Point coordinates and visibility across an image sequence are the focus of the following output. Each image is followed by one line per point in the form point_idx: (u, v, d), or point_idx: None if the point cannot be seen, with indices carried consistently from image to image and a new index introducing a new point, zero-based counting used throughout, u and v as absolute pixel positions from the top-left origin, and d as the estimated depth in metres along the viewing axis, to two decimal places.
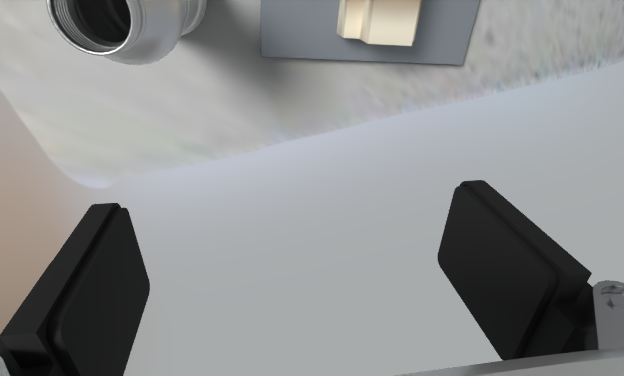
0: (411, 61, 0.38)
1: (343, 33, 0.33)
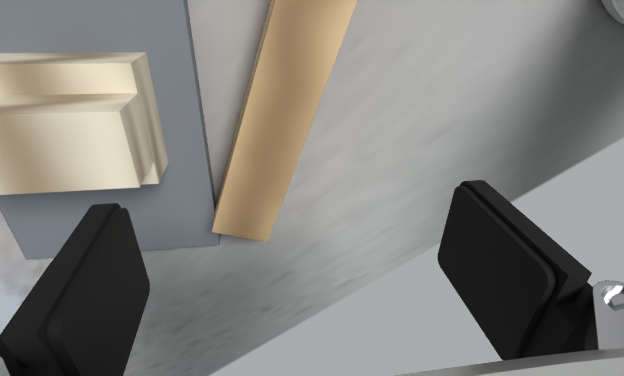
0: None
1: None
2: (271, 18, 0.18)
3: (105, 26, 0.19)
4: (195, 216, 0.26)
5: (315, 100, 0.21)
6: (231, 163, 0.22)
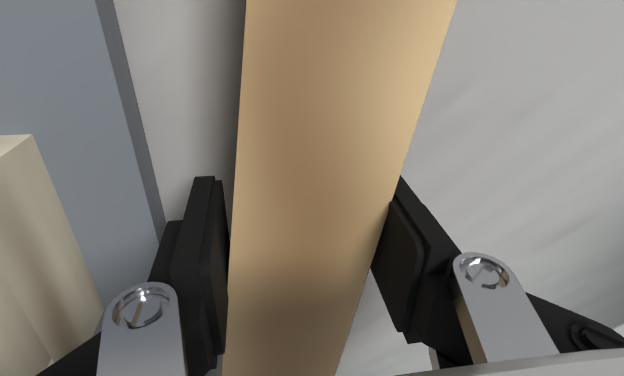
0: None
1: None
2: (243, 93, 0.07)
3: None
4: None
5: (372, 231, 0.10)
6: (224, 358, 0.11)
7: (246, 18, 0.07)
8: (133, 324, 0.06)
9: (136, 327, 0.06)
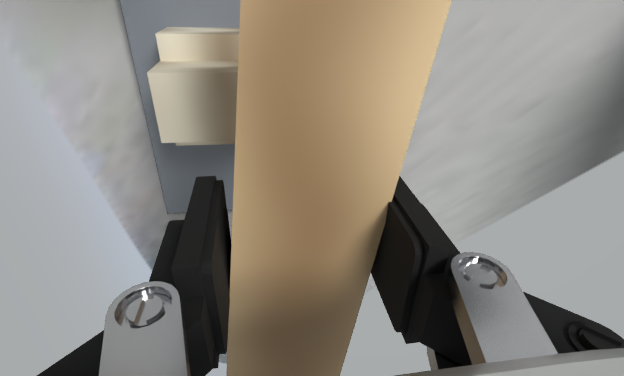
0: (154, 148, 0.27)
1: (162, 33, 0.21)
2: (239, 99, 0.07)
3: None
4: None
5: (372, 233, 0.10)
6: (229, 361, 0.11)
7: (240, 24, 0.07)
8: (135, 323, 0.06)
9: (138, 326, 0.06)
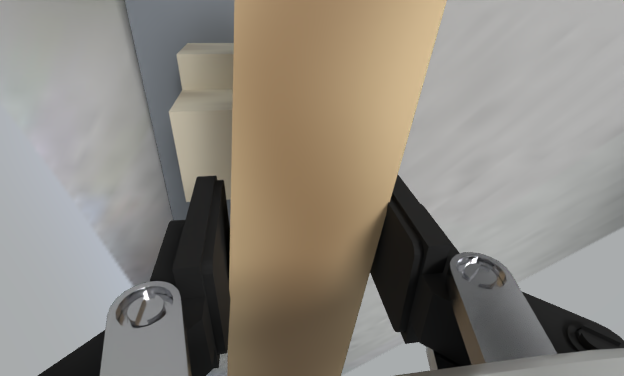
0: (169, 192, 0.21)
1: (185, 53, 0.15)
2: (235, 102, 0.07)
3: None
4: None
5: (371, 234, 0.10)
6: (229, 362, 0.12)
7: (235, 27, 0.07)
8: (136, 323, 0.06)
9: (139, 326, 0.06)
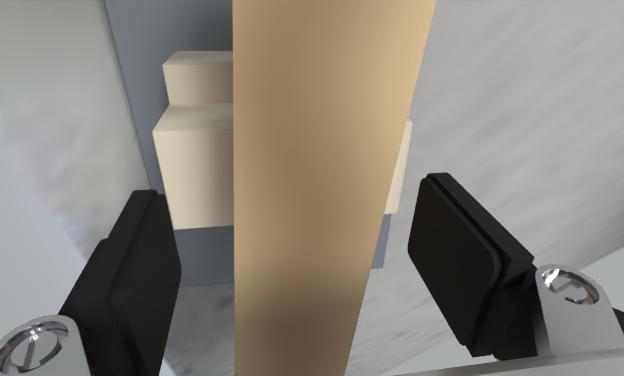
0: None
1: (173, 64, 0.14)
2: (236, 98, 0.07)
3: None
4: None
5: (371, 225, 0.10)
6: (236, 355, 0.12)
7: (233, 26, 0.07)
8: (26, 367, 0.05)
9: (31, 370, 0.06)
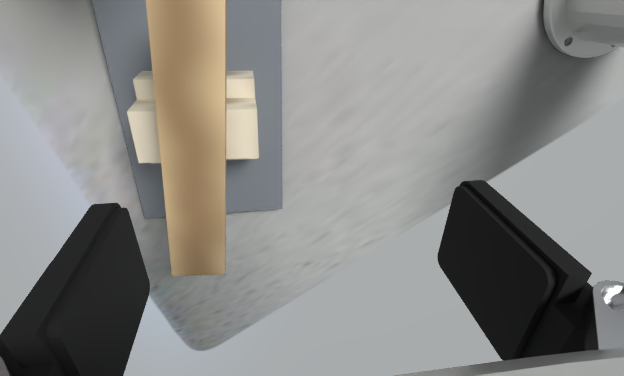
0: (133, 165, 0.33)
1: (138, 78, 0.27)
2: (155, 95, 0.21)
3: (229, 54, 0.30)
4: (268, 186, 0.37)
5: (220, 150, 0.23)
6: (167, 217, 0.25)
7: (152, 70, 0.20)
8: None
9: None
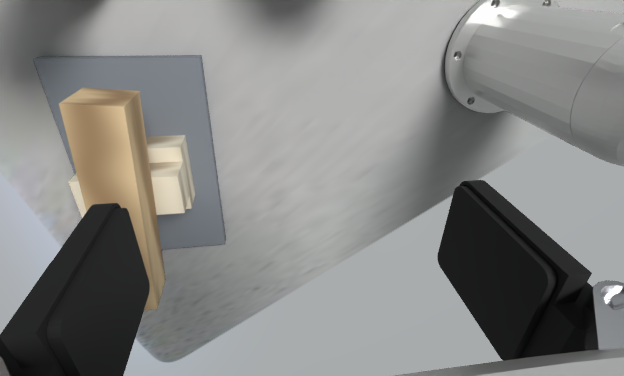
0: None
1: None
2: (79, 180, 0.26)
3: (163, 123, 0.35)
4: (210, 226, 0.42)
5: (138, 217, 0.29)
6: None
7: (74, 163, 0.26)
8: None
9: None
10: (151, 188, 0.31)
